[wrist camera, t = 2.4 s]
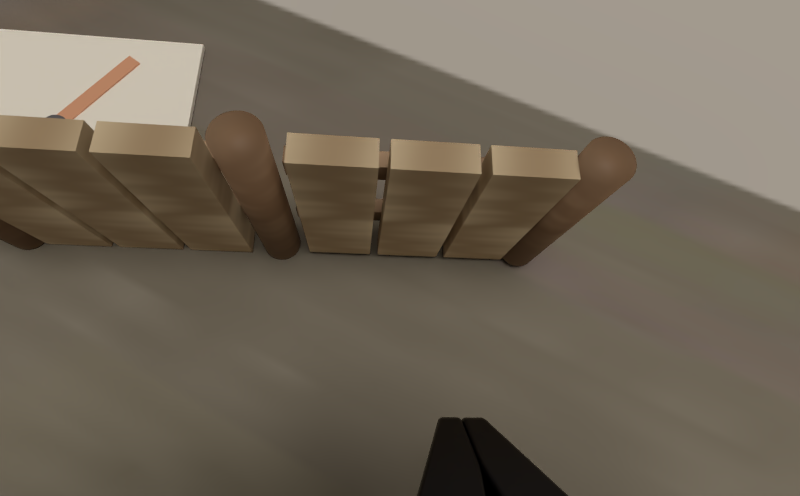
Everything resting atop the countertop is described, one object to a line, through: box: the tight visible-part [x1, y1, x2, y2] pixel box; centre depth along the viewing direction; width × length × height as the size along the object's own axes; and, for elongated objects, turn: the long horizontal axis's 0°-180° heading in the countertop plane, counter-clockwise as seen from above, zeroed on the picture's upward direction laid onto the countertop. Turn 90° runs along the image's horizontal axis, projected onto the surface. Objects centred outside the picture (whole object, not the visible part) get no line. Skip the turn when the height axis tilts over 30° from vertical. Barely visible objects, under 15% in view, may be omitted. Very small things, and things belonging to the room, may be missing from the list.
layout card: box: [0, 29, 205, 130], centre depth 22 cm, size 14×9×1 cm, turn 89°
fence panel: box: [282, 133, 637, 266], centre depth 17 cm, size 11×2×8 cm, turn 89°
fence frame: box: [0, 111, 301, 260], centre depth 17 cm, size 12×2×9 cm, turn 89°
